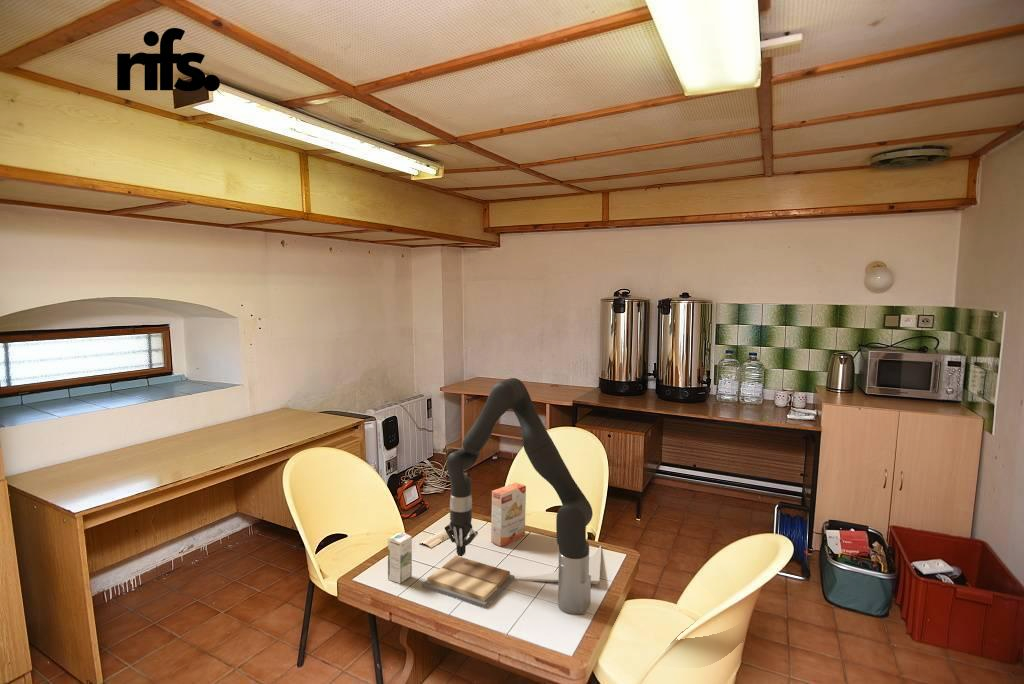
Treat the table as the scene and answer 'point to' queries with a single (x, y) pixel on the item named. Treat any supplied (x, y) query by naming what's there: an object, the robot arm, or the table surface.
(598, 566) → the corner molding
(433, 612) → the table surface
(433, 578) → the oak plank
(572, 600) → the robot arm
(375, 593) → the table surface
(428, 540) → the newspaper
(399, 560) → the syrup box
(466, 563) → the walnut plank
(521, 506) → the cracker box
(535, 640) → the table surface
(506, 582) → the board
